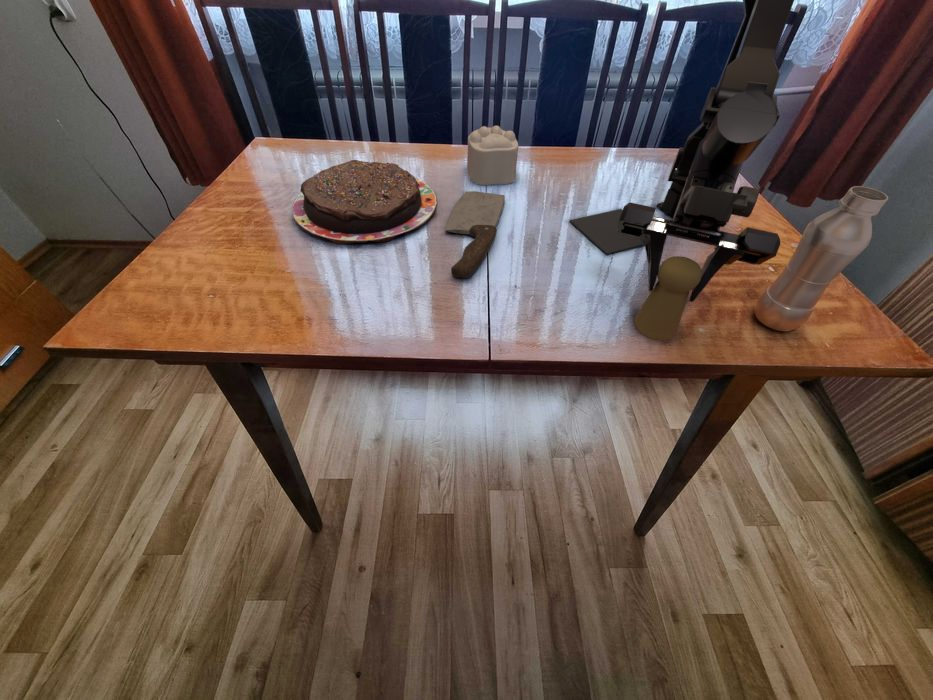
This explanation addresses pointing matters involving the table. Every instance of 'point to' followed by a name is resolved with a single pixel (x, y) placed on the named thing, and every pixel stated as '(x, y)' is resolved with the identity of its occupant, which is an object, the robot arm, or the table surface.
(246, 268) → the table surface
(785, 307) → the plastic bottle
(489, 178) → the lumpy-topped squat cylinder
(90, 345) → the table surface
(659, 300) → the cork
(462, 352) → the table surface
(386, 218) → the chocolate cake
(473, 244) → the cleaver
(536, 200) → the table surface
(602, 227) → the dark square mat
